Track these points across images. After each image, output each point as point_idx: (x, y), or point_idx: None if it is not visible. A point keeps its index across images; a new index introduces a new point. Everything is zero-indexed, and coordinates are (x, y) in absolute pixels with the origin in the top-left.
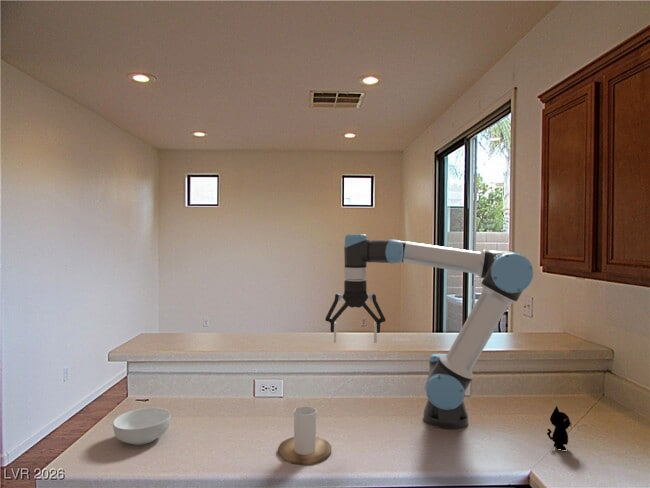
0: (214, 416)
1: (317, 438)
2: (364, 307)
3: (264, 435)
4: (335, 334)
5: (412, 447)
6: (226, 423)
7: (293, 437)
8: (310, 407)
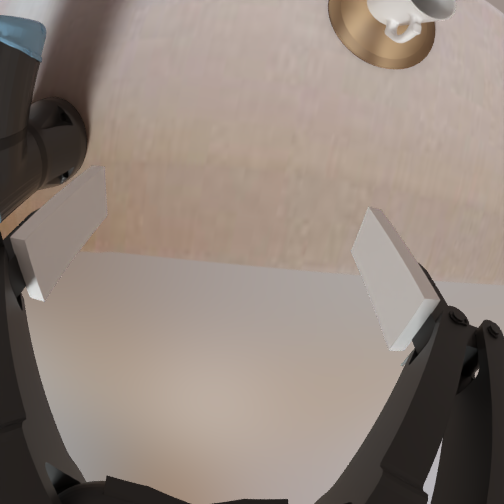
0: (494, 211)
1: (355, 46)
2: (16, 442)
3: (448, 108)
4: (392, 238)
5: (140, 7)
6: (488, 179)
7: (404, 67)
8: (416, 7)
